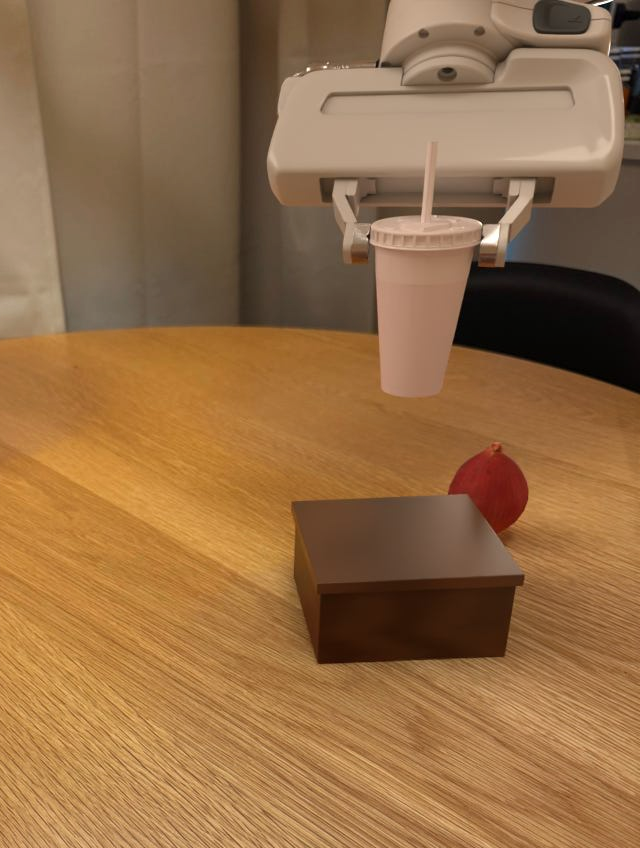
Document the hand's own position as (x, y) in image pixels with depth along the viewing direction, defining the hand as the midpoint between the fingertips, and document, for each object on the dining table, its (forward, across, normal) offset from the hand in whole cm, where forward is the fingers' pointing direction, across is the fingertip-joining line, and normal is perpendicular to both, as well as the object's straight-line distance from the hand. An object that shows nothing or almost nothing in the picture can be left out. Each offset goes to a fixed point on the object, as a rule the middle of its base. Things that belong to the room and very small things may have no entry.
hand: (422, 259), depth 59 cm
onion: (+8, +6, +25) cm, 27 cm away
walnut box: (+17, 0, +15) cm, 23 cm away
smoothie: (+5, 0, +6) cm, 8 cm away
